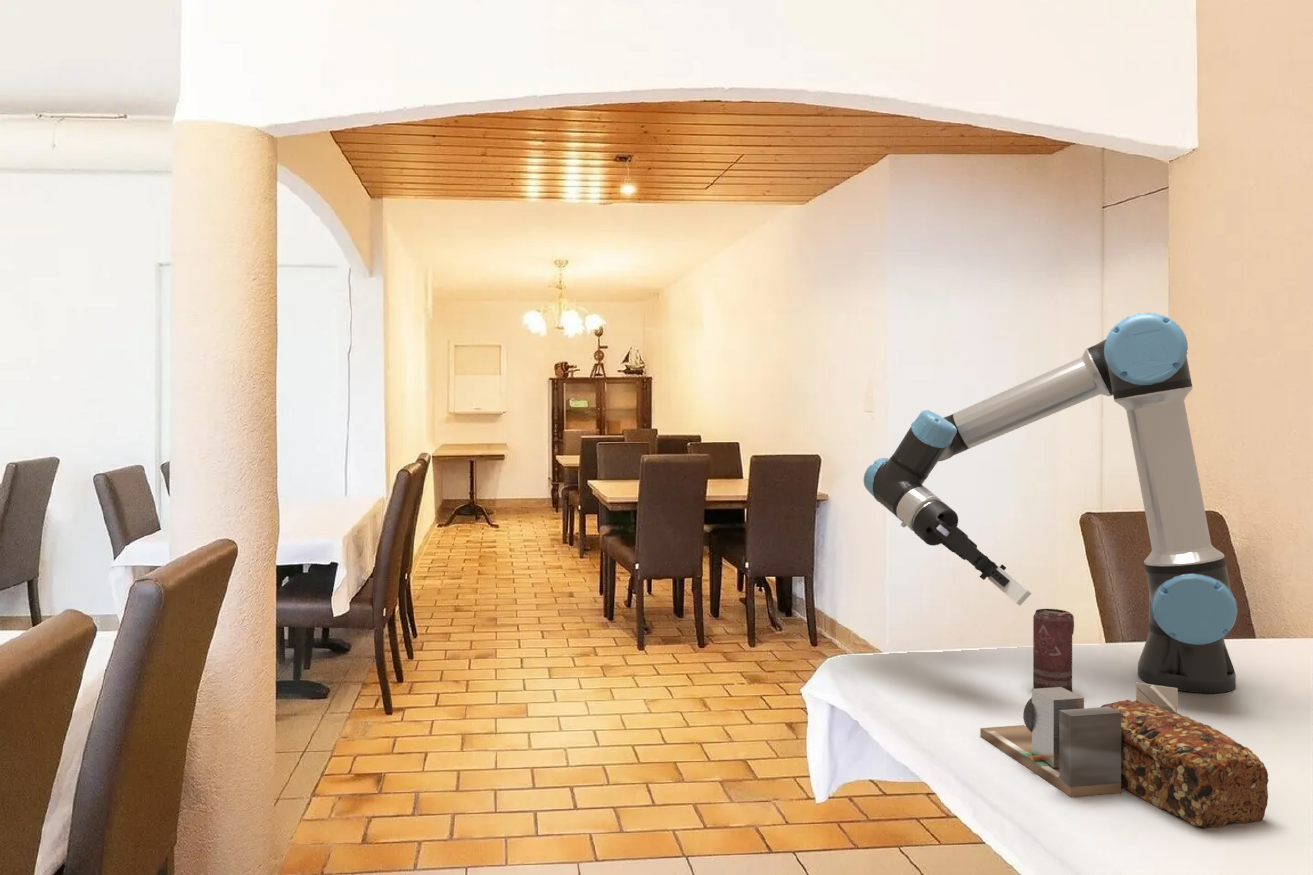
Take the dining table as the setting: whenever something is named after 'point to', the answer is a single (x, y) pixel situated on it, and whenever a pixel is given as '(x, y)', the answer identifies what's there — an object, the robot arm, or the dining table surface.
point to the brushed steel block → (1048, 720)
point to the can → (1052, 648)
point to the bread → (1189, 767)
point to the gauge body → (1072, 750)
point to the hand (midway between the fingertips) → (1023, 598)
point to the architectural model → (1158, 696)
